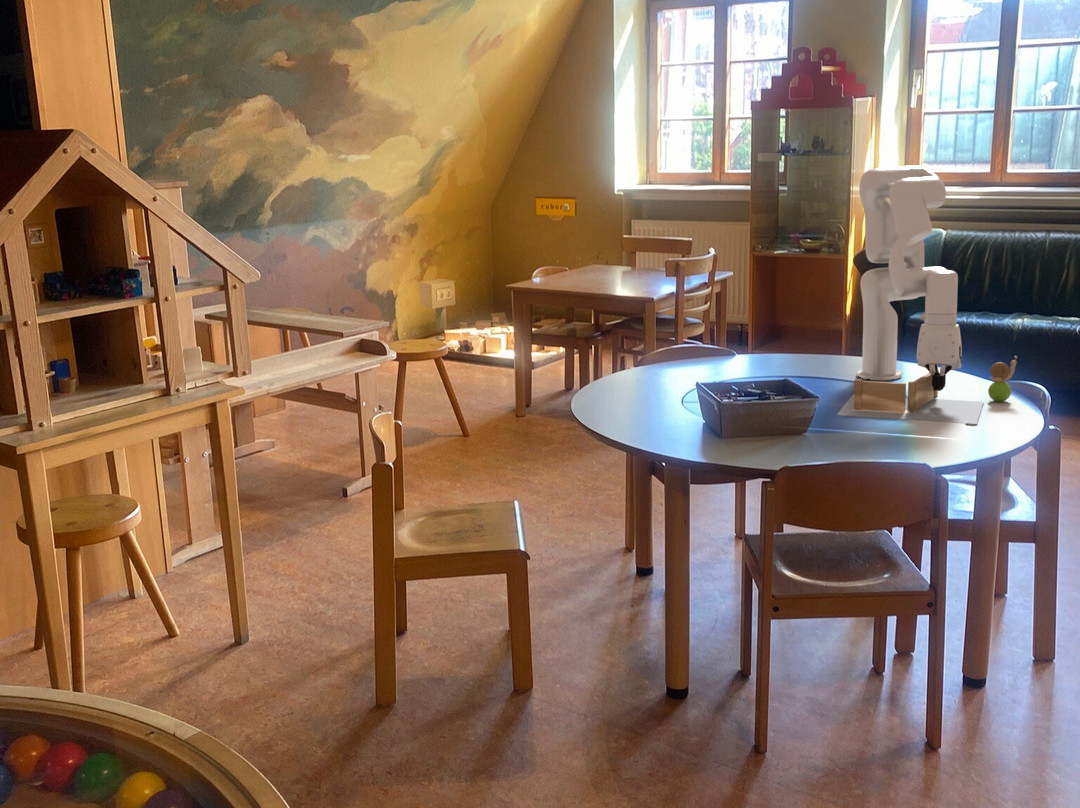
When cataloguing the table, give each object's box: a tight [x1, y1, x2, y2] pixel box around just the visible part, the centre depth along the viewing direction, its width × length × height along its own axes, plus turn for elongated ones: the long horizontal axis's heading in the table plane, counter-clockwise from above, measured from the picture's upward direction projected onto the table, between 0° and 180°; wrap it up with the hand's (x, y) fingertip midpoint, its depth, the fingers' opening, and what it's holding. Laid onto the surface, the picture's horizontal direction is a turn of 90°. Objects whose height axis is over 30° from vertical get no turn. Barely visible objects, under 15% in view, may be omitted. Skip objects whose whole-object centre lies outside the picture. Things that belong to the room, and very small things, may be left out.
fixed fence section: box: [853, 378, 907, 412], centre depth 263 cm, size 2×12×8 cm, turn 63°
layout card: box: [836, 394, 984, 426], centre depth 264 cm, size 22×33×1 cm, turn 63°
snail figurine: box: [987, 355, 1018, 403], centre depth 266 cm, size 5×6×12 cm
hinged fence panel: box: [907, 369, 940, 412], centre depth 265 cm, size 2×17×7 cm, turn 139°
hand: (938, 389), depth 265 cm, fingers closed
